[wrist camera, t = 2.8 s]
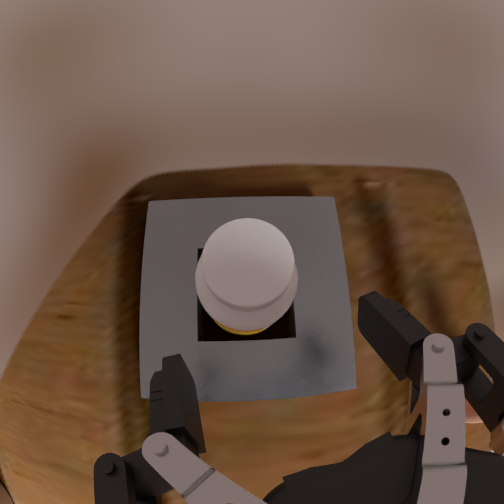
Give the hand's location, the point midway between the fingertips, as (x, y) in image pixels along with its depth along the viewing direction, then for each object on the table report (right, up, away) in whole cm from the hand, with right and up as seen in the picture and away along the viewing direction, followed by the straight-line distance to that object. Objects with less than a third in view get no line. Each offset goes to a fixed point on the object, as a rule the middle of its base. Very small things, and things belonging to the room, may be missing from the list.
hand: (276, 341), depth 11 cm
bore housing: (-2, 0, +10) cm, 10 cm away
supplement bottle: (-2, 0, +10) cm, 10 cm away
